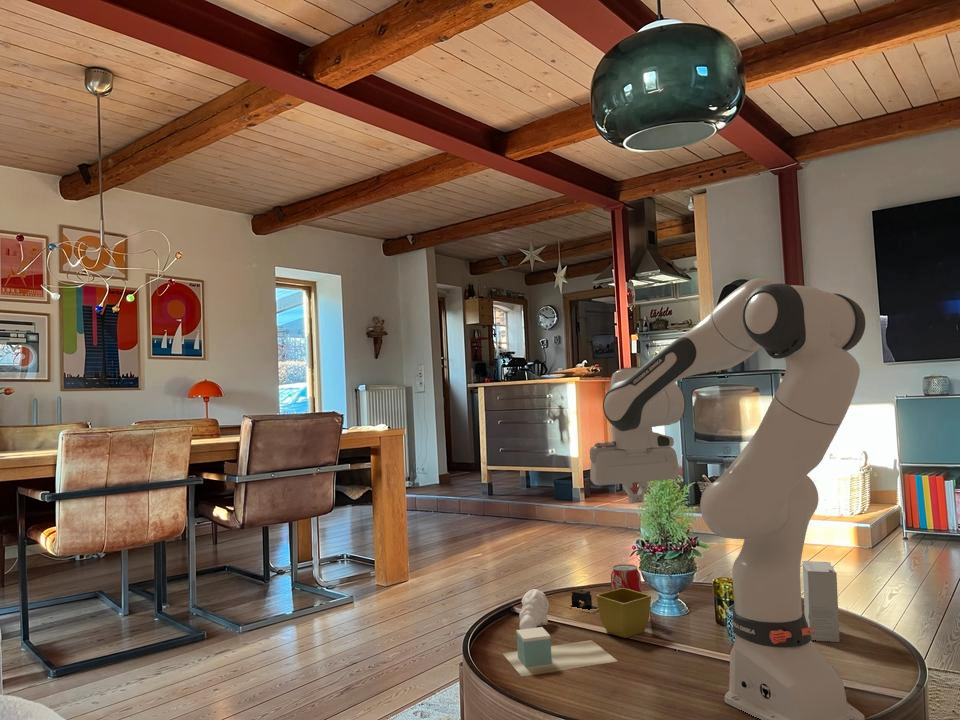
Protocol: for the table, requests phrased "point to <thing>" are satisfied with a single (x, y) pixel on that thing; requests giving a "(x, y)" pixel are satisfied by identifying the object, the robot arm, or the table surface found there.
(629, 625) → the flower pot
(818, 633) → the skincare box
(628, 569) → the soda can
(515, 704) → the table surface
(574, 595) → the black upright block
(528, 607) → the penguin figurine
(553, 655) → the birch board
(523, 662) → the teal block
